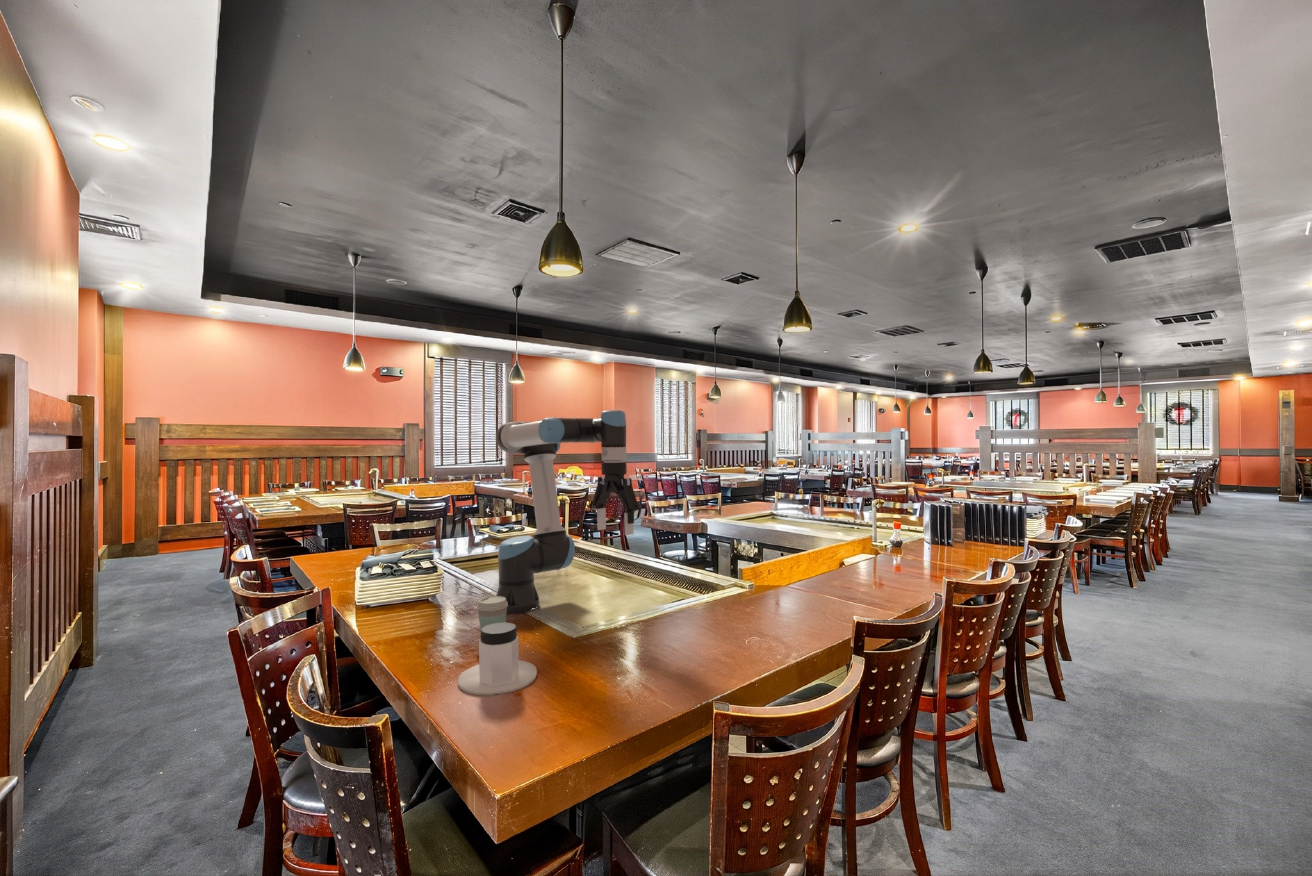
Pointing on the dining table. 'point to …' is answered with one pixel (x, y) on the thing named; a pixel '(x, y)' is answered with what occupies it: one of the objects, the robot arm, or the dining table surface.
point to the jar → (498, 654)
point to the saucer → (472, 686)
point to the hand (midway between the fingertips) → (615, 532)
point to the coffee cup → (492, 610)
